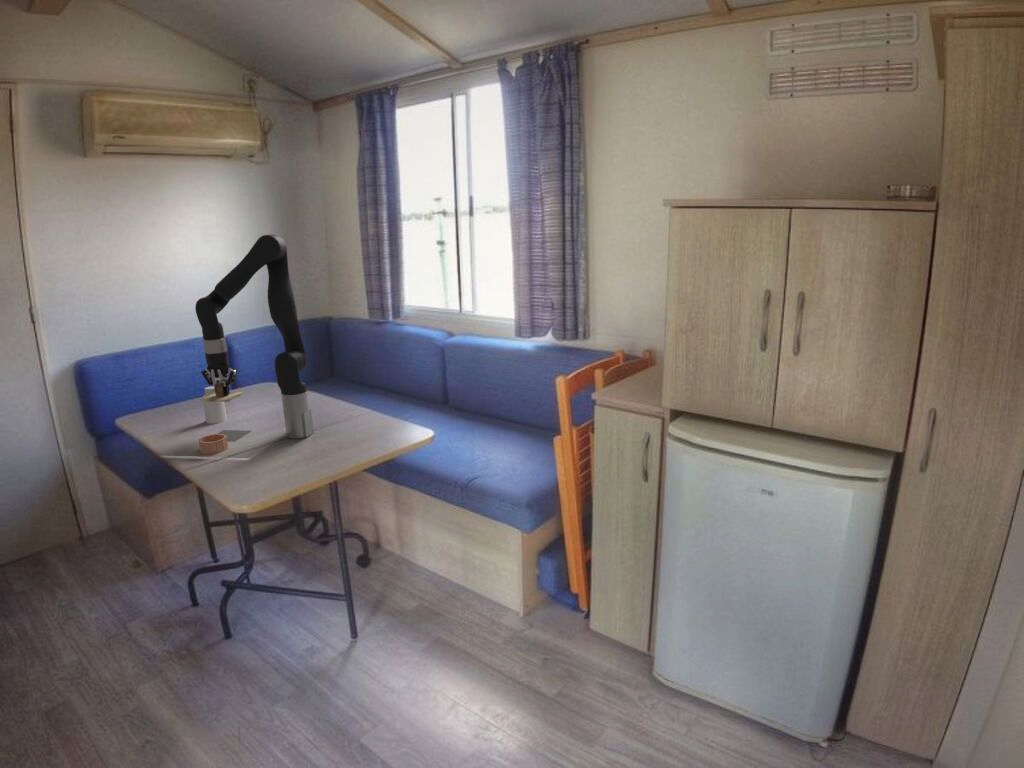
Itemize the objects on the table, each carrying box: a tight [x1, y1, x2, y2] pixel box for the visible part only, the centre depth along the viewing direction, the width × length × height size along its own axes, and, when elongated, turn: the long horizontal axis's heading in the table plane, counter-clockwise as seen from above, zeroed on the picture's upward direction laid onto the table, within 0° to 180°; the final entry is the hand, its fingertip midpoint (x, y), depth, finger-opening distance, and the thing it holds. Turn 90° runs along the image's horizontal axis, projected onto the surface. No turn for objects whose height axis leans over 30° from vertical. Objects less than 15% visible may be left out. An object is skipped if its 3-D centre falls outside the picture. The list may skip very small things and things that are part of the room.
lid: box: [200, 380, 246, 403], centre depth 230 cm, size 11×11×6 cm
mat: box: [217, 429, 252, 443], centre depth 235 cm, size 12×12×1 cm
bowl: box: [198, 433, 229, 455], centre depth 221 cm, size 9×9×5 cm
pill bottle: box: [201, 385, 228, 425], centre depth 252 cm, size 8×8×15 cm
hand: (222, 395), depth 231 cm, fingers closed on lid, 2 cm apart
